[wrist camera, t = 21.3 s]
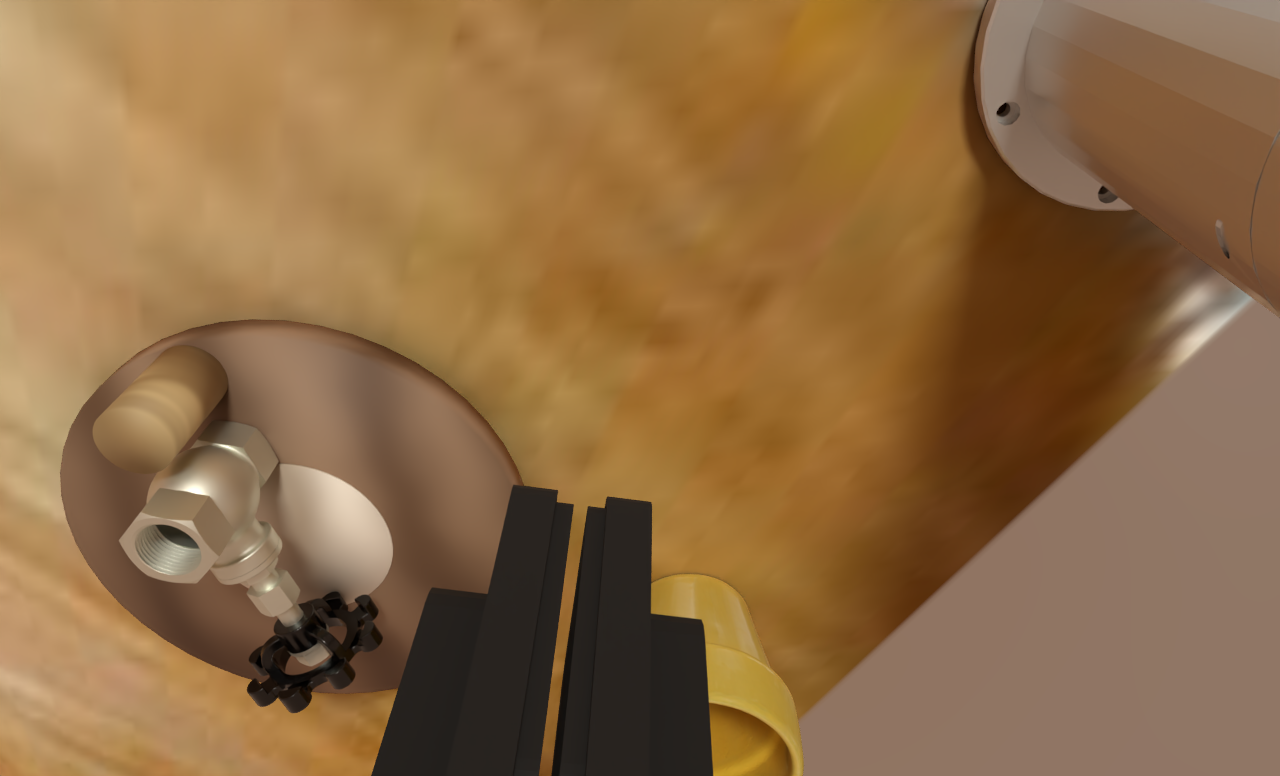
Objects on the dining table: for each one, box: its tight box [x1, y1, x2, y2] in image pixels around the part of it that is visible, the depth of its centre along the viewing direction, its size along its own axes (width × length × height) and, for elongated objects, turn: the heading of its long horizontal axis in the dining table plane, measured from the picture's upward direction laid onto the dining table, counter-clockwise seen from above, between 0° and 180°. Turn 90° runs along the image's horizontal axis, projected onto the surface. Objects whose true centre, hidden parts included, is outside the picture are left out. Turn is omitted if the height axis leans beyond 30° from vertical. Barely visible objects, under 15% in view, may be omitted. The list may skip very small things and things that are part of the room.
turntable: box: [60, 319, 524, 694], centre depth 41 cm, size 22×22×7 cm
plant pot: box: [651, 574, 804, 776], centre depth 44 cm, size 10×10×10 cm
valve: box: [119, 420, 383, 713], centre depth 39 cm, size 7×7×12 cm
